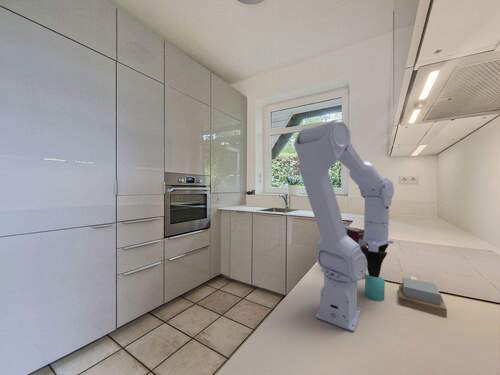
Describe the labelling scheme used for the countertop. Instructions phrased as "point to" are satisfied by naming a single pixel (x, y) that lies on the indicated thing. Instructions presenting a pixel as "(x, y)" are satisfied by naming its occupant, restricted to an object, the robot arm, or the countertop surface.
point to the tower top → (421, 290)
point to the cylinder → (374, 288)
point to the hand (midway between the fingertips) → (375, 271)
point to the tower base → (422, 304)
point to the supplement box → (356, 237)
